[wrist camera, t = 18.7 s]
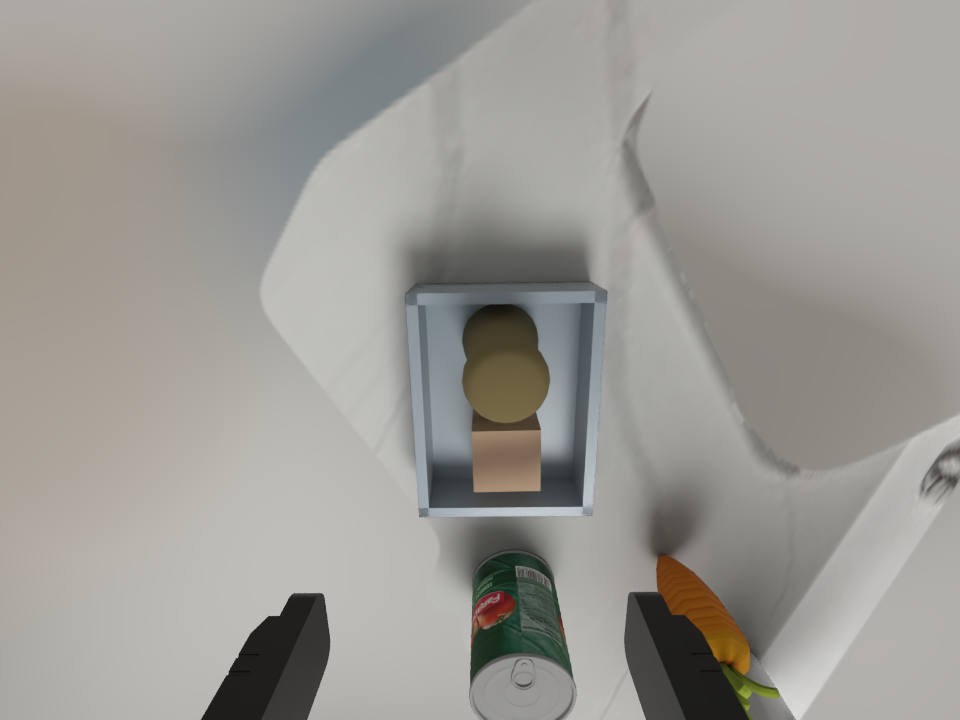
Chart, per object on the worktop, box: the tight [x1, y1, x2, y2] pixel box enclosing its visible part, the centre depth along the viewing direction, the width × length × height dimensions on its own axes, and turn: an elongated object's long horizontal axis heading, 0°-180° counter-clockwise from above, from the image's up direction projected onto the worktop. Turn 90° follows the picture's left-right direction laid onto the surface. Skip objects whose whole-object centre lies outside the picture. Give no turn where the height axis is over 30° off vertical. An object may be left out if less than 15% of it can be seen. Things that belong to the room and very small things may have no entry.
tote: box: [405, 282, 607, 517], centre depth 35 cm, size 18×14×5 cm
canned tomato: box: [469, 550, 577, 720], centre depth 38 cm, size 8×8×11 cm
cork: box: [462, 304, 550, 423], centre depth 30 cm, size 6×6×11 cm
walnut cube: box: [472, 409, 541, 492], centre depth 36 cm, size 5×5×5 cm
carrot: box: [656, 555, 780, 720], centre depth 35 cm, size 5×5×15 cm
